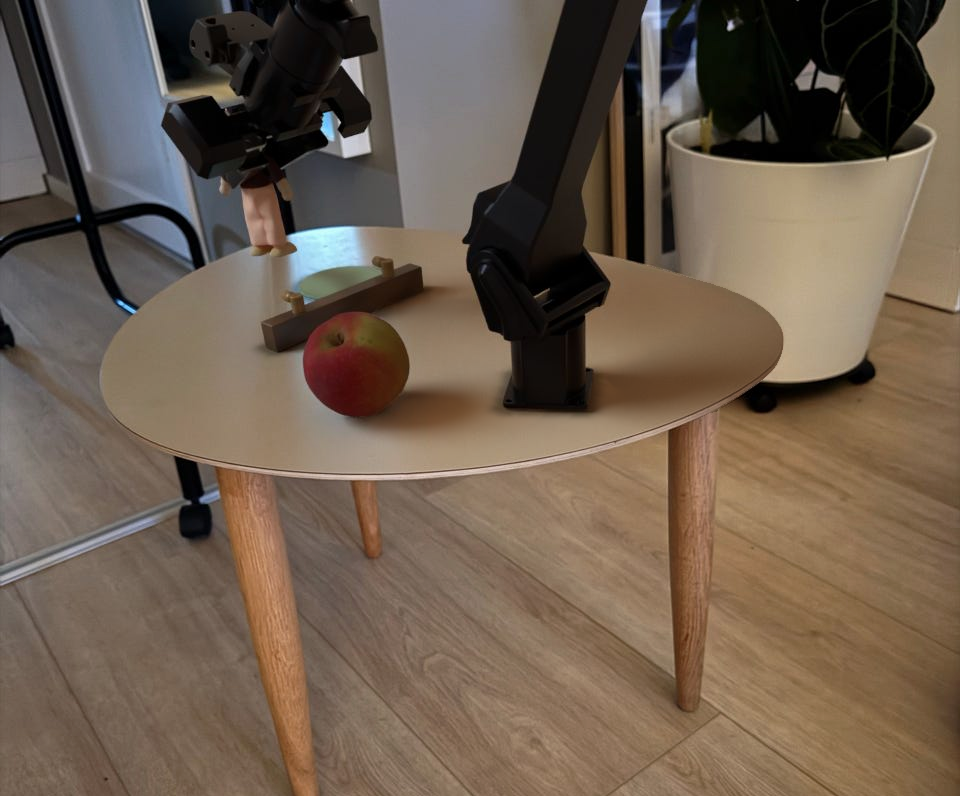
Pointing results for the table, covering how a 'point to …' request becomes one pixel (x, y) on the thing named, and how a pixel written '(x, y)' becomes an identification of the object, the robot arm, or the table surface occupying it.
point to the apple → (356, 364)
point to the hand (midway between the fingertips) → (244, 180)
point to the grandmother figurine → (265, 210)
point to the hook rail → (340, 298)
